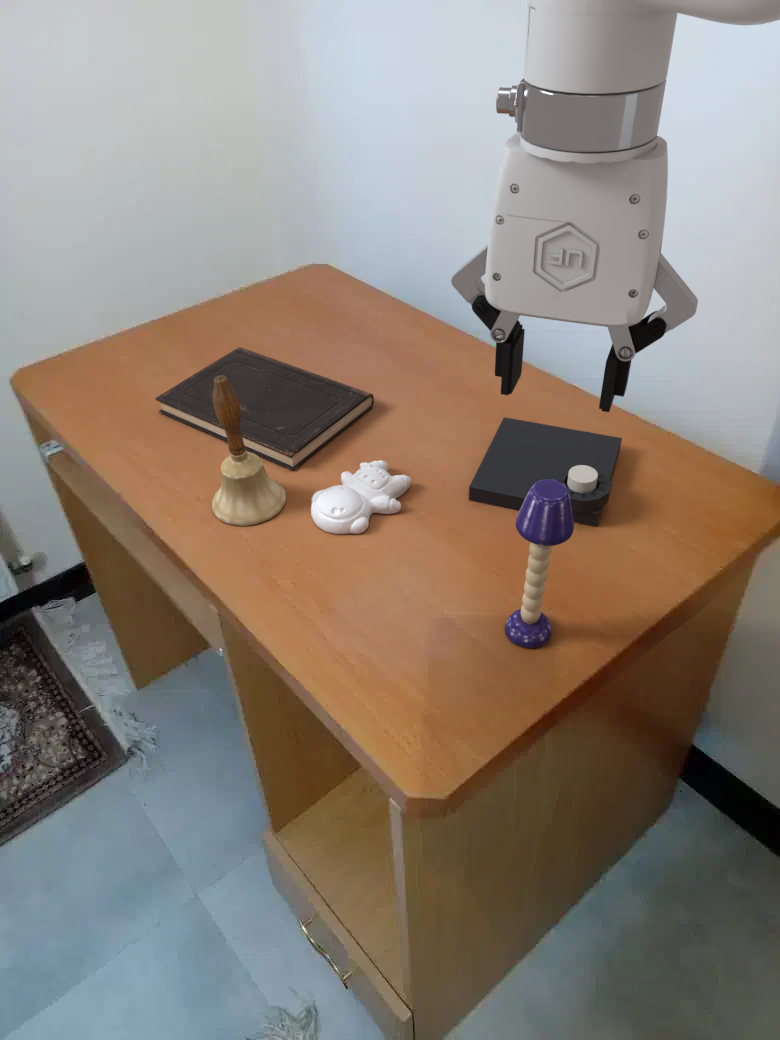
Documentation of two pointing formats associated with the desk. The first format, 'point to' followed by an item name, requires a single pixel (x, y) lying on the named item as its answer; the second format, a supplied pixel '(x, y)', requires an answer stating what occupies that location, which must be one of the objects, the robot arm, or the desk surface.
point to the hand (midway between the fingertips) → (558, 391)
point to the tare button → (582, 479)
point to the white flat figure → (358, 498)
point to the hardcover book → (270, 406)
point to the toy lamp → (539, 557)
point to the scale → (544, 465)
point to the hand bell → (241, 469)
